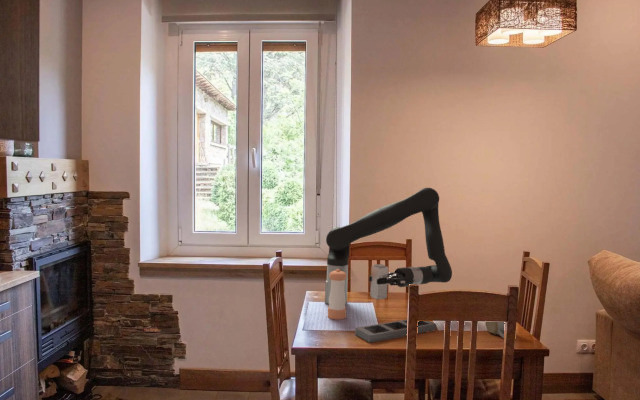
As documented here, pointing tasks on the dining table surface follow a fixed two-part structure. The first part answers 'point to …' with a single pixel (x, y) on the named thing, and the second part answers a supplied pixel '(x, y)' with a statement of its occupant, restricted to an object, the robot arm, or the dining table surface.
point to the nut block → (376, 289)
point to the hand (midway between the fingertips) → (373, 280)
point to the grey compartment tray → (390, 330)
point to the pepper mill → (337, 295)
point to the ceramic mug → (495, 328)
